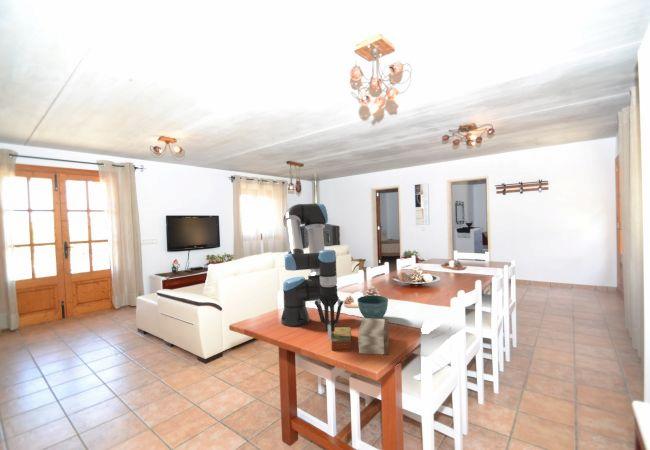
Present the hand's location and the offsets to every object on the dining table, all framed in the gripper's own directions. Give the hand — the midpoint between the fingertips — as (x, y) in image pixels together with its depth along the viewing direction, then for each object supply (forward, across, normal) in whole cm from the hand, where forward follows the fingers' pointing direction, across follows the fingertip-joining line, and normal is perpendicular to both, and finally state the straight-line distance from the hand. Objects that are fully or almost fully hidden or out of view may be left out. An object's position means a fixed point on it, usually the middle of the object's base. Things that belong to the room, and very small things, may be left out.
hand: (330, 338), depth 132 cm
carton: (+2, +5, +1) cm, 6 cm away
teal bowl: (+2, +16, +33) cm, 37 cm away
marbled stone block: (+2, +18, 0) cm, 19 cm away
